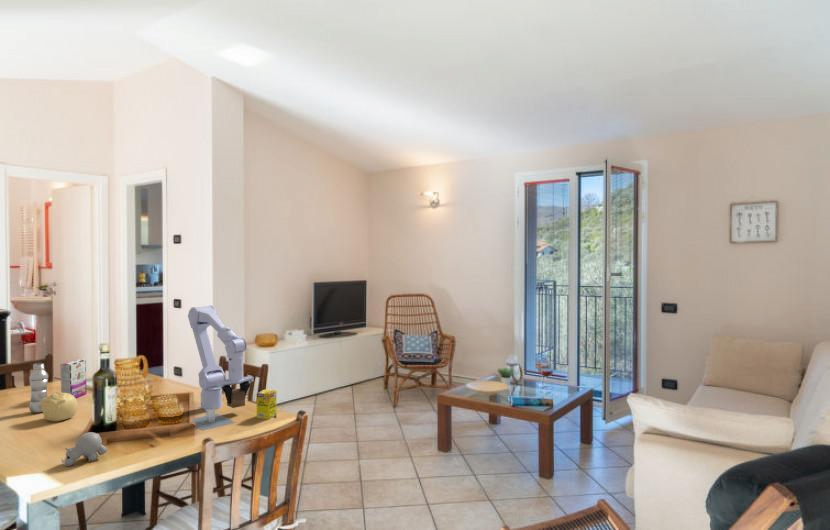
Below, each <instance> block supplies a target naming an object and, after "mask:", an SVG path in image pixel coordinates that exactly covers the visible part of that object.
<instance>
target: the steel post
mask: <svg viewBox="0 0 830 530" xmlns="http://www.w3.org/2000/svg"><path fill="white" fill-rule="evenodd" d="M215 414H216V409H215V408H212V407H211V408H206V410H205V416H206V422H207V423H211V422H215Z"/></svg>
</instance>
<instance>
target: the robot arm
mask: <svg viewBox="0 0 830 530" xmlns="http://www.w3.org/2000/svg"><path fill="white" fill-rule="evenodd" d="M217 314H218V311H217V309H216V308H215V307H214V305H208V306H196V307H195V306H193V307H190V309H189V310H188V314H187V319H188V322H189V325H190V328H191V330H192V332H193V335H194V340H195V344H196V347H197V351H198V354H199V357H200V361H201V362H200V363H201V365H202V369H201V370H199V372H198V384H199V387H200V388H201V389H202V390H201V392H200V407H198V409H199V410H201V409H204V410H205V411H206V408H211V407H212V408H215V410H219V409H221V408H222V407H223V393H224V395H225V399H226V404H227V403H228V404H231V394H232V390H233V387H232V386H233V385H239V389H242V390H244V391H245V398H246V396H247V393H248V391H249V389H250V388H251V383H252V382H255V380H254V378H255V377H254V376H251V375H250V376H244V352H245V351H246V350H247V342H246V340H245V338H244V337H240V336H238V335H236V334H235V332H234V331H233V330H232V328H231V327H229V326H225V325H224V323H223V322H222V321H221V320H220V318H219V316H218V315H217ZM209 327H212V328H213V329H214V330H215V331H216V332H217V334H216V335H217V337H218V339H219V341H221V342H222V343H223V345H224V349H225V352H226V357H227V359H228V370H227V372H228V379H227V376H226V375H227V374H226V373H225V372H224V369H223V367H222V366H220V365H218V364H217V363H216V360H215V356H214V353H213V349H212V345H211V341H210V338H209V335H208V328H209Z"/></svg>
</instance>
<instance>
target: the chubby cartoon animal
mask: <svg viewBox="0 0 830 530" xmlns="http://www.w3.org/2000/svg"><path fill="white" fill-rule="evenodd" d="M102 441H103V440H102V437H101V436H100V434H99V433H96V432H91V431H90V432H89V431H88V432H85V433H82V434H81V435H80V436H79V437H78V438H77V440H76V441H75V445H74V446H73V447H71V448H68V447H65V448H64V449H65V450H66V452H65V458H64V459H63V458H61V463H63V464H64V466H66V467H71V466H73V465H74V464H75V462H76V461H78V460H79V459H80V458H81V457H82V456H83V458H84V459H85V460H88V461H89V462H94V461H96V460H97V459H98V457H99V456H102V455H105V454H106V453H107V451H108V448H107V447H106V446H105V445H103V444H102ZM98 455H99V456H98Z"/></svg>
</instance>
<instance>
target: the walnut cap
mask: <svg viewBox="0 0 830 530" xmlns="http://www.w3.org/2000/svg"><path fill="white" fill-rule="evenodd" d="M226 406H227V407H230V408H232V409H235V408H239V407H240V408H241V407H245V406H246V397H245V391H244V390H242V389H240V388H234V389H232V394H231V404H228V403H227V402H226Z"/></svg>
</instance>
